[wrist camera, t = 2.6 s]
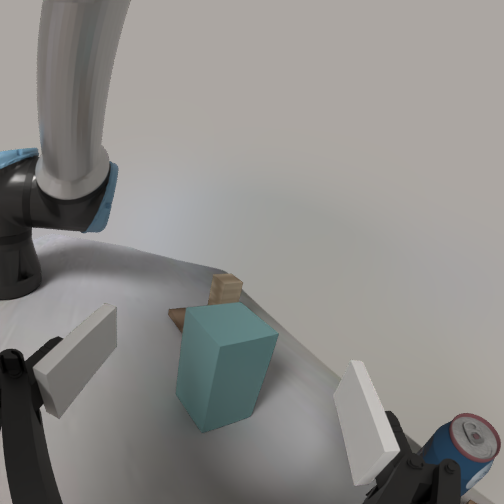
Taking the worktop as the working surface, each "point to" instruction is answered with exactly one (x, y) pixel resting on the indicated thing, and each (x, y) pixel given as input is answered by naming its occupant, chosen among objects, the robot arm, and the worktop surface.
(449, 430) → the soda can
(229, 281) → the brown square base plate
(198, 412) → the tall teal pillar
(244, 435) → the worktop surface
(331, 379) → the worktop surface
